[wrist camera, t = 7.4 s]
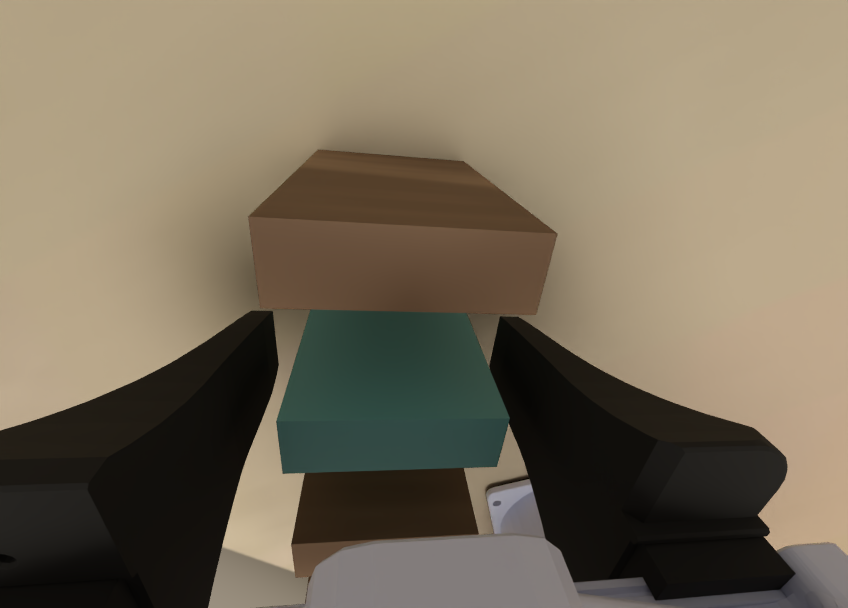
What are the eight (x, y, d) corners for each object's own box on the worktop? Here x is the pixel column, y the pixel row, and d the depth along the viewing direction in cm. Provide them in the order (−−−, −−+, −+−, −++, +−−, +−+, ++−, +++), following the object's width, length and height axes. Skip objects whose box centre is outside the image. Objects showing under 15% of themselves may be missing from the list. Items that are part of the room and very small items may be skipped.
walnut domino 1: (457, 206, 14) (535, 315, 7) (320, 198, 14) (260, 308, 7) (463, 161, 13) (557, 234, 6) (318, 150, 13) (247, 216, 6)
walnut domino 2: (434, 386, 18) (470, 565, 11) (327, 386, 18) (295, 577, 11) (438, 359, 18) (478, 533, 11) (326, 358, 17) (291, 544, 10)
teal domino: (445, 307, 16) (497, 466, 9) (324, 303, 16) (283, 473, 9) (449, 272, 15) (509, 418, 9) (323, 267, 15) (276, 421, 8)
